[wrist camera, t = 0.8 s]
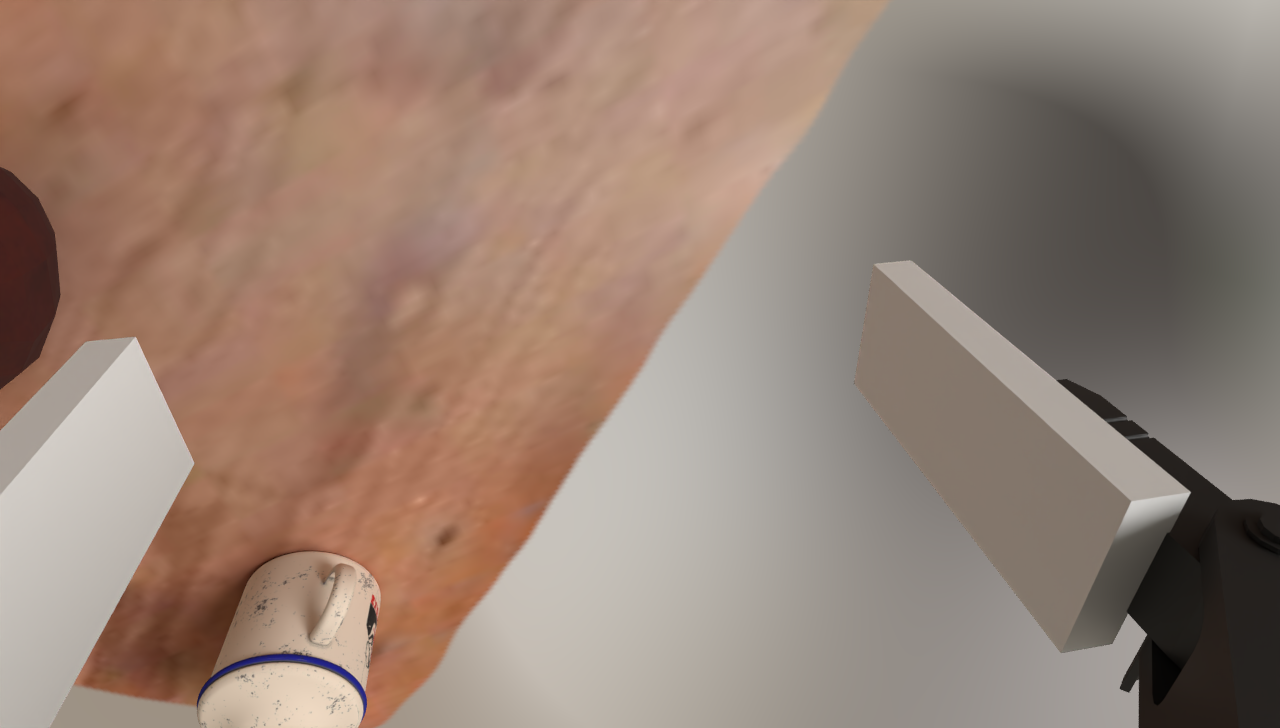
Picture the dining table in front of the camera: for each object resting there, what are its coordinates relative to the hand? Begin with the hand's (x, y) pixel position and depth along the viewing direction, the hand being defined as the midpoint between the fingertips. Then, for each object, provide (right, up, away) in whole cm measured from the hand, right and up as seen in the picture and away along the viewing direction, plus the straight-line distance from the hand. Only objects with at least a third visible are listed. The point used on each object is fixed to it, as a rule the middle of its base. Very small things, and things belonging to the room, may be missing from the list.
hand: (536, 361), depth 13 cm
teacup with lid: (-20, -15, +35) cm, 43 cm away
